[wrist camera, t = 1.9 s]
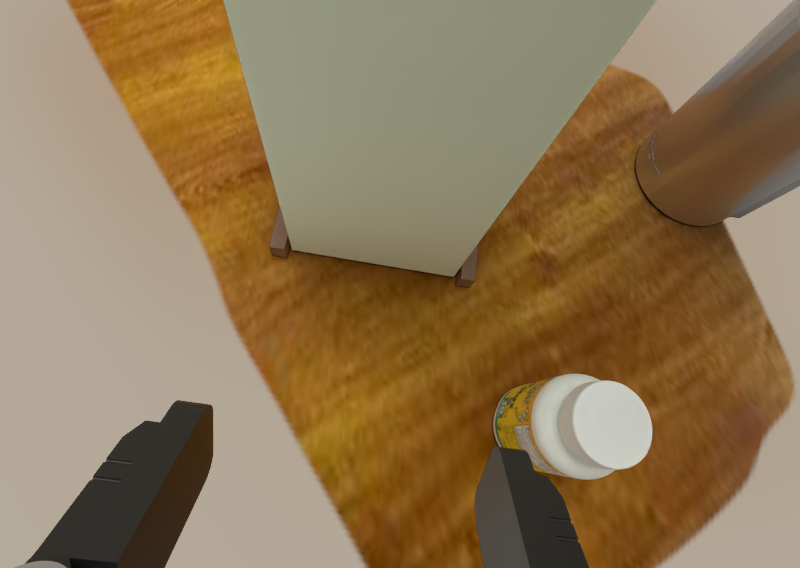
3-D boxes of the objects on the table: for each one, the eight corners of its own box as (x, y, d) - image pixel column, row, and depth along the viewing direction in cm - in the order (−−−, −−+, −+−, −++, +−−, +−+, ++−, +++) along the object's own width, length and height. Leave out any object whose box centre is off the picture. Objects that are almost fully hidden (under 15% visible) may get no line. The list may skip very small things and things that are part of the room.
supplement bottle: (515, 484, 28) (597, 510, 19) (476, 406, 30) (536, 395, 21) (582, 445, 30) (689, 452, 21) (542, 371, 31) (625, 348, 22)
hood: (464, 159, 35) (686, -328, 13) (453, 277, 32) (726, -95, 9) (318, 132, 34) (274, -446, 12) (292, 250, 31) (158, -235, 8)
